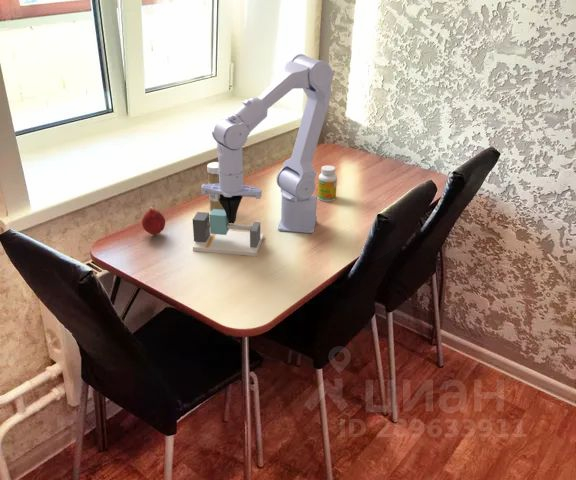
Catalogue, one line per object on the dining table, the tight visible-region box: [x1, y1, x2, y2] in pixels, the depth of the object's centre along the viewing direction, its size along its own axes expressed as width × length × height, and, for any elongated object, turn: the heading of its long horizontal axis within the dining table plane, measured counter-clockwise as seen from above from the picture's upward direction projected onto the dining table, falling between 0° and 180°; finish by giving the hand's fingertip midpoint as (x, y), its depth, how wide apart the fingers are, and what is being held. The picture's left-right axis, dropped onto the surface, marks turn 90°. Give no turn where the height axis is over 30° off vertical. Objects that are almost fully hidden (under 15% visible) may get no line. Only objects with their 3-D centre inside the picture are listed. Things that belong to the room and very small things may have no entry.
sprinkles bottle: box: [206, 161, 224, 211], centre depth 161 cm, size 5×5×14 cm
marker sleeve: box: [209, 209, 230, 235], centre depth 144 cm, size 4×3×5 cm
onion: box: [141, 206, 166, 236], centre depth 148 cm, size 6×6×8 cm
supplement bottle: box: [317, 164, 338, 203], centre depth 169 cm, size 5×5×10 cm
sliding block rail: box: [192, 211, 265, 257], centre depth 145 cm, size 16×10×7 cm, turn 81°
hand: (232, 221), depth 143 cm, fingers closed
